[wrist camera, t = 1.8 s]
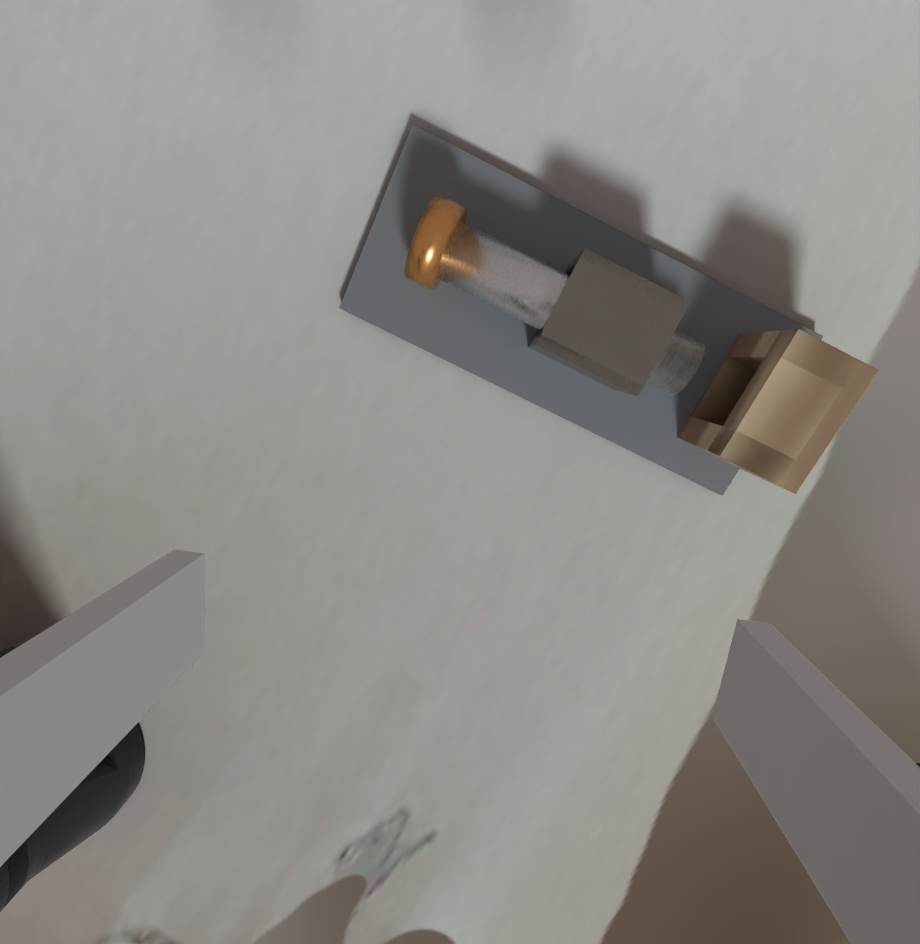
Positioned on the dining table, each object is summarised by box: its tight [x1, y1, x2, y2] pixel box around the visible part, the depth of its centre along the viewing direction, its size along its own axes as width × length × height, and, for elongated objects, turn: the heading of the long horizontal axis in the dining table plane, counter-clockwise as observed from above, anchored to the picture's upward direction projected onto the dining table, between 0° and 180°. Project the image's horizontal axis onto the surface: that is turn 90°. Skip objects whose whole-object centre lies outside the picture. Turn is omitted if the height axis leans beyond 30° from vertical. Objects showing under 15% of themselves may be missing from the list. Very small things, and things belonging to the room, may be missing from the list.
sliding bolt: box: [405, 193, 705, 395], centre depth 28 cm, size 16×5×5 cm, turn 65°
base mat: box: [339, 124, 823, 495], centre depth 31 cm, size 27×11×1 cm, turn 64°
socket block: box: [677, 329, 878, 494], centre depth 28 cm, size 4×7×6 cm, turn 154°
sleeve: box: [528, 248, 691, 396], centre depth 28 cm, size 6×5×5 cm
